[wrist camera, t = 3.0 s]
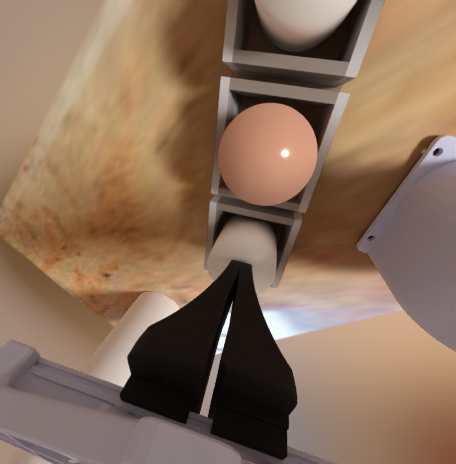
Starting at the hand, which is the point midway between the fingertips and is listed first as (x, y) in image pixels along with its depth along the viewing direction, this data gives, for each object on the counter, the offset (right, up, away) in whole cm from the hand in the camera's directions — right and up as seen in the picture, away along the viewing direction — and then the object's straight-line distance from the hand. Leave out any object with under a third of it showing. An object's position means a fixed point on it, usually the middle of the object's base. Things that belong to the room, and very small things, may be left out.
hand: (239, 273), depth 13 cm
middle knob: (+2, +8, 0) cm, 8 cm away
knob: (+1, +2, +4) cm, 4 cm away
